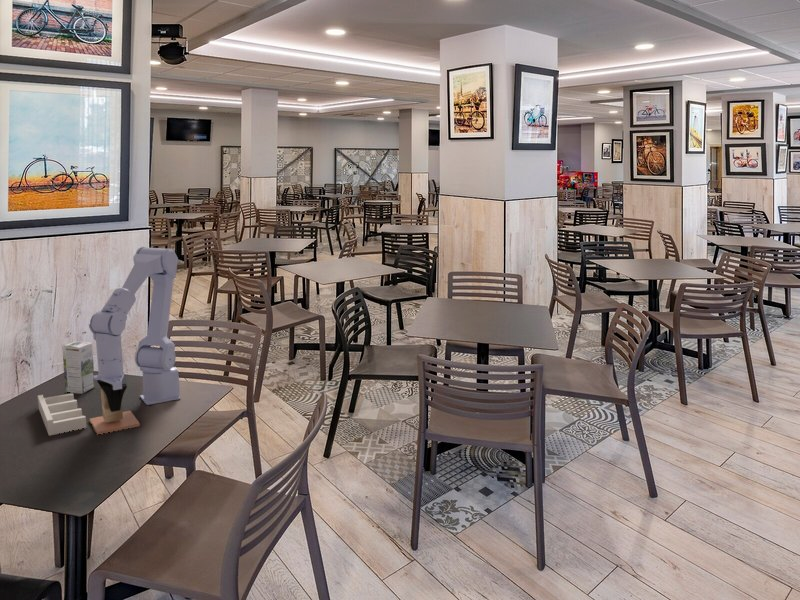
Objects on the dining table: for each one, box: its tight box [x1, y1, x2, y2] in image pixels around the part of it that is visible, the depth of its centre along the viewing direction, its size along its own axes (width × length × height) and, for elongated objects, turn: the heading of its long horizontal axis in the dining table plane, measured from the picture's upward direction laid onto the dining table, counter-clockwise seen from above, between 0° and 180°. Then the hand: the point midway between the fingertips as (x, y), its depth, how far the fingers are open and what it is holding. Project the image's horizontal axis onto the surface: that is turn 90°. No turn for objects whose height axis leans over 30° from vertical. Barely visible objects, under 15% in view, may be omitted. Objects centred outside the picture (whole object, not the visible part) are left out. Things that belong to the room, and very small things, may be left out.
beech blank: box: [99, 387, 123, 423], centre depth 151 cm, size 4×4×8 cm
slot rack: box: [37, 393, 88, 437], centre depth 154 cm, size 8×20×4 cm, turn 37°
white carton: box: [62, 340, 96, 395], centre depth 173 cm, size 6×6×14 cm
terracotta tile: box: [89, 410, 141, 436], centre depth 153 cm, size 10×10×1 cm
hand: (113, 407), depth 152 cm, fingers closed on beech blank, 4 cm apart
